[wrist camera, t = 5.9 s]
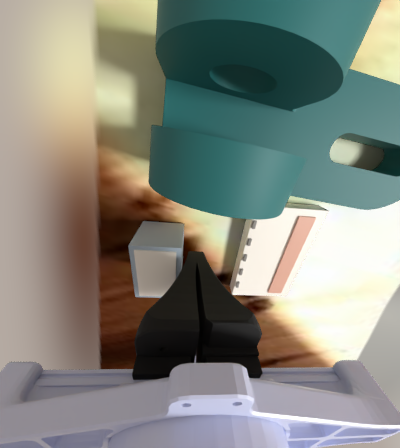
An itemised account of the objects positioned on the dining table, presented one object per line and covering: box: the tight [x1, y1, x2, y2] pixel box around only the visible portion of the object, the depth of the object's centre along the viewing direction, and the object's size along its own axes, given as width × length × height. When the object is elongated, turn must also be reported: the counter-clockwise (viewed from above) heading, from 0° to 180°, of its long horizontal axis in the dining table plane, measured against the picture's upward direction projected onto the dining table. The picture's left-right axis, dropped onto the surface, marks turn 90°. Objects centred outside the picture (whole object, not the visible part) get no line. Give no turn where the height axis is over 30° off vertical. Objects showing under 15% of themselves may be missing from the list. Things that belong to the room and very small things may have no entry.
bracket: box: [149, 0, 400, 220], centre depth 8 cm, size 18×7×8 cm, turn 79°
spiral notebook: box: [230, 203, 329, 296], centre depth 15 cm, size 10×6×1 cm, turn 175°
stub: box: [128, 221, 184, 298], centre depth 13 cm, size 5×4×4 cm
